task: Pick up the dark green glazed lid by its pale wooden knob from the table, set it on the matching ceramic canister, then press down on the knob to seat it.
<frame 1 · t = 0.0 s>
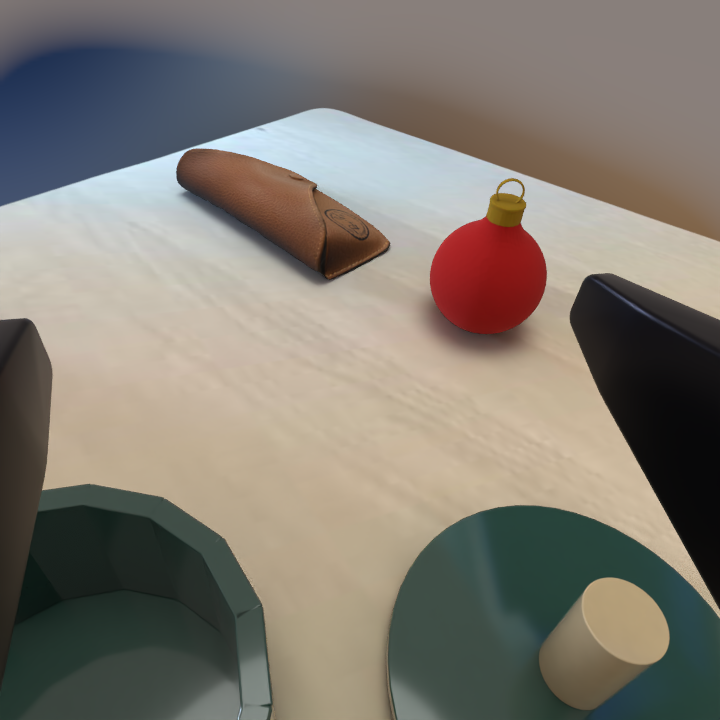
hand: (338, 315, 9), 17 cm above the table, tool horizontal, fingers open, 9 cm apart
lid: (569, 674, 20), point 1 cm above the table
sunglasses case: (281, 221, 44), on the table
christmas ornament: (473, 323, 36), on the table
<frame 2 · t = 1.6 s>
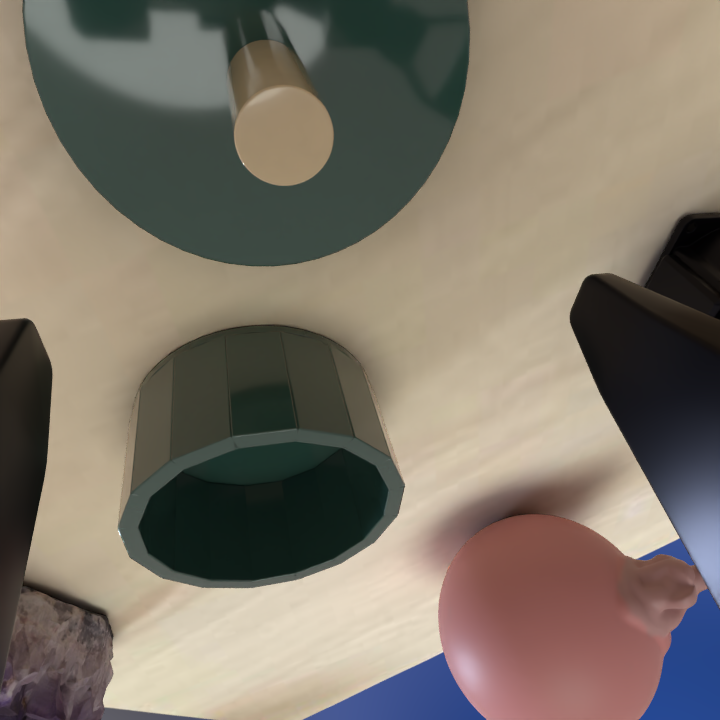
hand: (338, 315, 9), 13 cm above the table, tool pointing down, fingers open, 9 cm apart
canister: (258, 415, 29), on the table
lid: (266, 79, 18), point 1 cm above the table
balloon: (523, 514, 45), on the table
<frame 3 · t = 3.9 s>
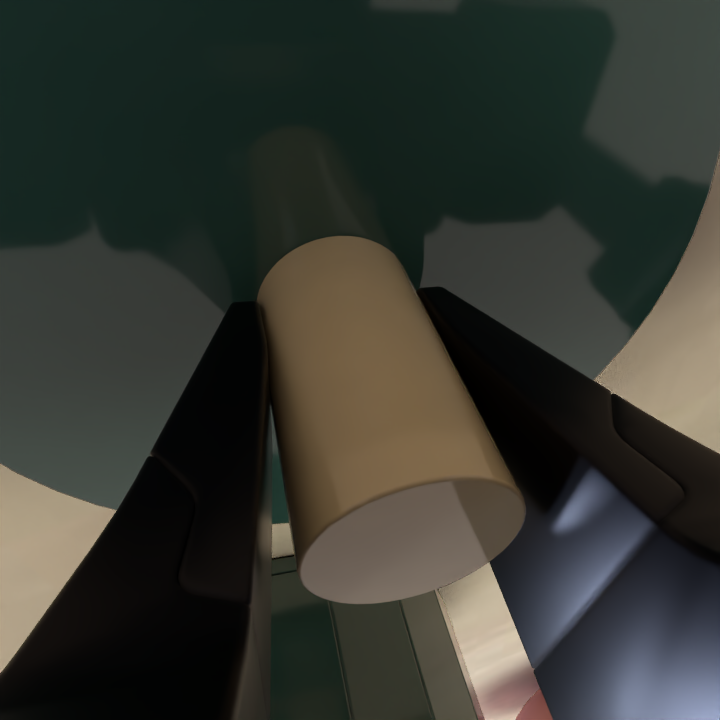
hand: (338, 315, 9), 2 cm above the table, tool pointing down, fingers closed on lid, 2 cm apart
canister: (283, 635, 21), on the table
lid: (327, 282, 9), point 1 cm above the table, touching gripper
balloon: (596, 657, 37), on the table
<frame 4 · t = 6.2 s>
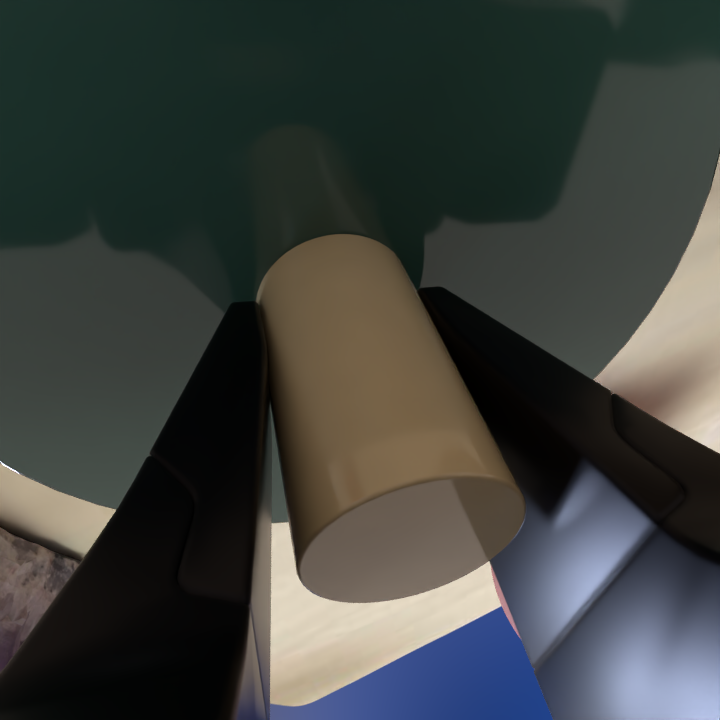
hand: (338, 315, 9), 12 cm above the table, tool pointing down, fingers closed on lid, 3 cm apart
lid: (327, 281, 9), point 11 cm above the table, touching gripper
when the fingers open (7 cm above the table, at t = 8.3 s): lid stays where it is, resting on canister.
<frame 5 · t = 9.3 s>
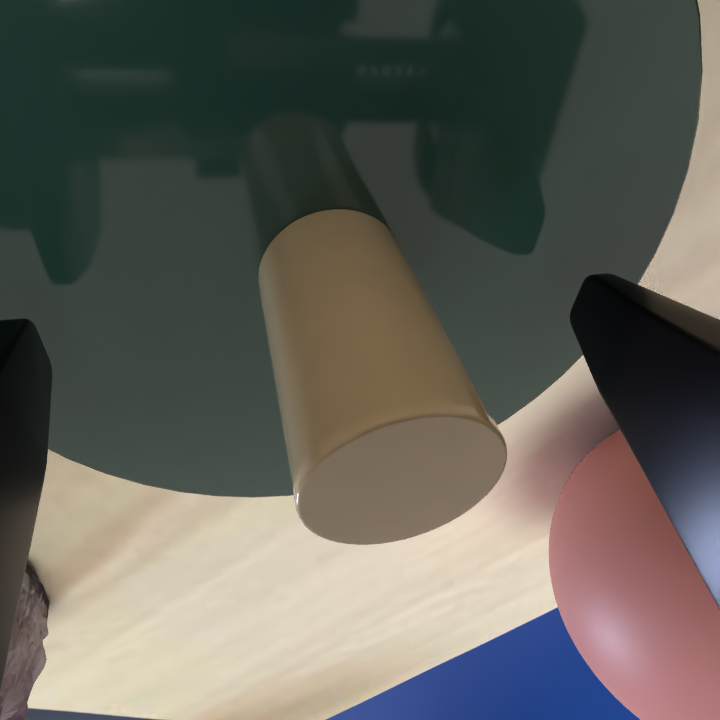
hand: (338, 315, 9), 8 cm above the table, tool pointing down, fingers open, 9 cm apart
lid: (325, 257, 10), point 6 cm above the table, touching canister
balloon: (663, 418, 30), on the table
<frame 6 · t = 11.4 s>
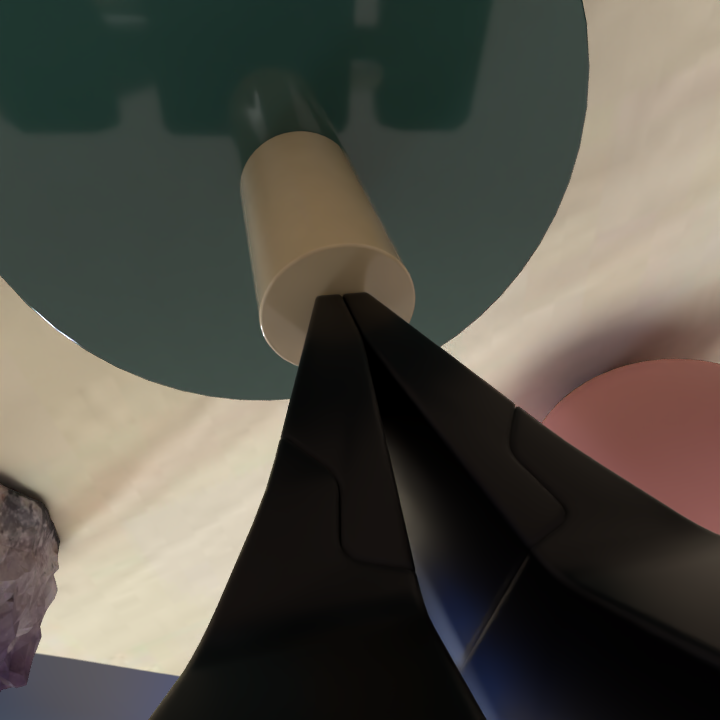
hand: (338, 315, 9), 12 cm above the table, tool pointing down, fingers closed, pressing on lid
lid: (295, 178, 12), point 6 cm above the table, touching canister, gripper
balloon: (627, 376, 33), on the table
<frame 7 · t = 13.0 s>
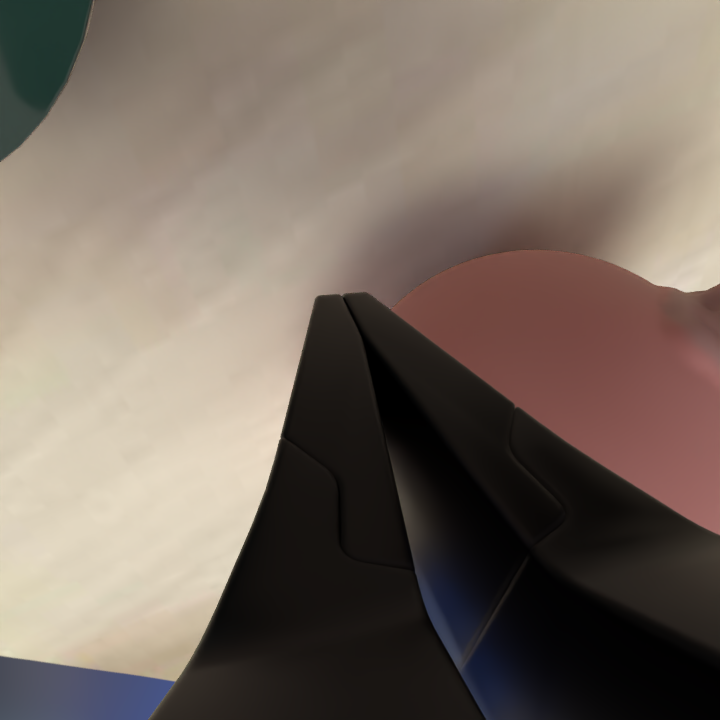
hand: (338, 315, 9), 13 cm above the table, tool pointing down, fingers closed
balloon: (492, 293, 27), on the table
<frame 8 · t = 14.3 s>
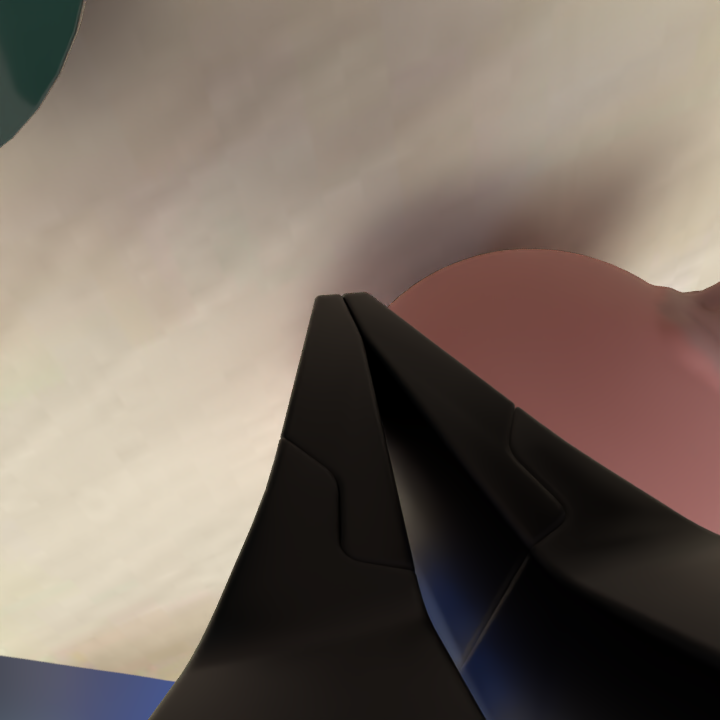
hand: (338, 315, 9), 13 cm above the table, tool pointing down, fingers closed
balloon: (489, 292, 27), on the table
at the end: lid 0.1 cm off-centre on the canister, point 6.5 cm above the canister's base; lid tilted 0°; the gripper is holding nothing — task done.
